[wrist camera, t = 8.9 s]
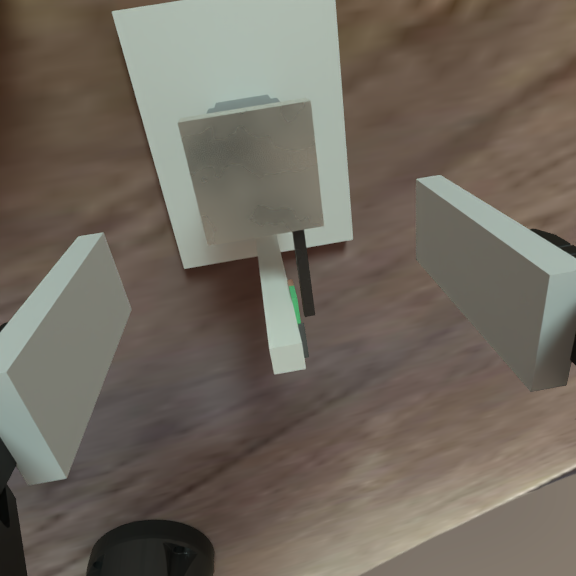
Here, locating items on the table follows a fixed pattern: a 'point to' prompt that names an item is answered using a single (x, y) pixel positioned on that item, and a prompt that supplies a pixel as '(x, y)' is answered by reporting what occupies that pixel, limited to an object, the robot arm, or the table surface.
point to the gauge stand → (233, 95)
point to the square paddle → (257, 176)
